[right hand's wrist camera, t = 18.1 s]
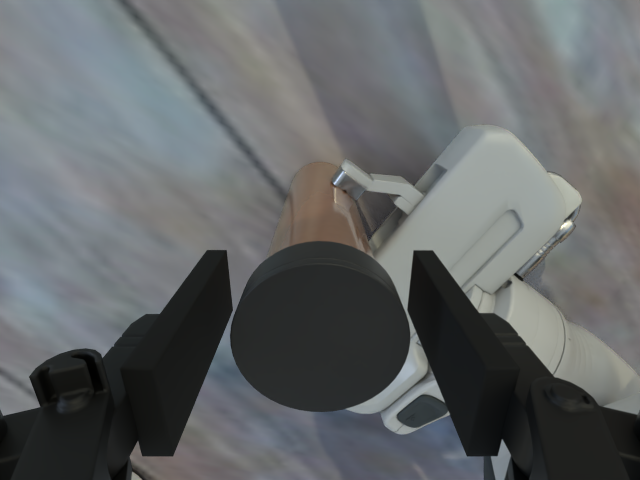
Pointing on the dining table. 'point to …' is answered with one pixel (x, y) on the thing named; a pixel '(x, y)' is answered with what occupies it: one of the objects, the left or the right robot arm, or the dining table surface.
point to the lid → (320, 328)
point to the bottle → (319, 212)
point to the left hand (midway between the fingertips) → (307, 210)
